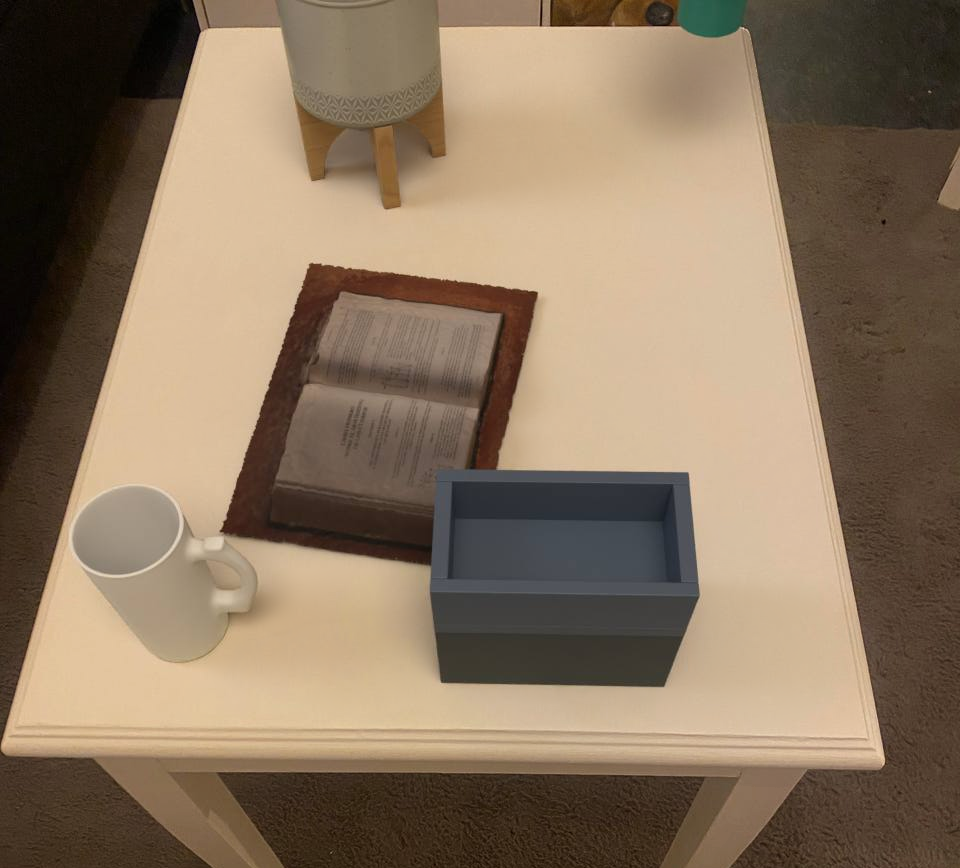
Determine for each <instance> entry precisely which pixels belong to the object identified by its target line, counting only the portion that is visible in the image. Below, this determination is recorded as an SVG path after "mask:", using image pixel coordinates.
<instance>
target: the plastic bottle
mask: <svg viewBox="0 0 960 868" xmlns="http://www.w3.org/2000/svg"><path fill="white" fill-rule="evenodd" d="M747 5H748V0H678V4H677V12H676V21H677V23H678V25H679V26H680V27H681V28H682V30H684V31H686V32H687V33H689V34H691V35H694V36H698V37H701V38H707V39H709V38H710V39H712V38H713V39H714V38H723V37H727V36H730V35H733V34H734V33H736V32H737V31H738V30H739V29H741V26H743V23H744V20H745V19H744V18H745V13H746V10H747Z"/></svg>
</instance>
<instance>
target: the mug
mask: <svg viewBox="0 0 960 868" xmlns="http://www.w3.org/2000/svg"><path fill="white" fill-rule="evenodd" d="M67 536H68V537H67V541H68V546H69V551H70V554H71V555H72V557H73V559H74V560H75V562H76V563H77V564H78V565H79V567H80V568H81V570H82V571H83V572H84V573H85V575H86V576H87V577H88V578H89V580H90V581H91V582H92V583H93V585H94V586H95V587H96V588H97V590H98V591H99V592H100V594H102V596H103V597H104V599H106V601H107V602H108V603H109V605H110V606H111V607H112V609H113V610H114V611H115V612H116V613H117V614H118V616H119V618H121V620H122V621H123V622H124V623H125V625H126V626H127V627H128V628H129V629H130V631H131V632H132V633H133V635H135V637H136V638H137V639H138V640H139V641H140V643H141V644H142V645H143V646H144V647H145V649H146V650H147V652H149V653H150V654H151V655H153V656H154V657H156V658H158V659H159V660H163V661H166V662H170V663H185V662H191V661H194V660H197V659H199V658H201V657H203V656H205V655H207V654H209V653H210V652H211V651H212V650H213V649H215V648H216V647H217V646H218V645H219V644H220V642H221V641H222V639H223V638H224V636H225V634H226V631H227V629H228V626H229V625H228V624H229V613H241V614H242V613H247V612H248V611H249V610H250V609H251V606H252V604H253V601H254V598H255V595H256V593H257V589H258V584H259V579H258V574H257V571H256V569H255V567H254V566H253V564H252V563H251V562H250V561H249V560H248V559H247V558H246V556H244V554H242V553H241V552H240V551H239V550H238V549H236V548H235V547H234V546H233V545H231V544H230V543H229V542H228V541H227V540H226V538H225V536H223V535H218V536H217V535H215V536H206V537H205V539H199V538H196V537H195V535H194V533H193V530H192V528H191V526H190V524H189V522H188V520H187V518H186V516H185V514H184V513H183V510H182V508H181V506H180V504H179V502H178V501H177V500H176V498H175V497H173V495H172V494H171V493H169V492H167V491H166V490H165V489H163V488H160V487H158V486H156V485H153V484H149V483H148V484H147V483H138V482H137V483H133V482H132V483H125V484H119V485H116V486H112V487H110V488H107V489H105V490H102V491H101V492H99V493H97V494H96V495H94V496H93V497H91V498H90V499H89V500H87V502H85V503H84V504H83V505H81V507H80V508H79V510H78V511H77V513H76V514H75V515H74V516H73V519H72V520H71V523H70V526H69V528H68V535H67ZM207 561H214V562H218V563H221V564H223V565H226V566H227V567H229V568H231V569H232V570H233V571H234V572H235V573H236V574H237V575H238V576H239V579H240V583H241V585H240V586H239V587H237V588H236V589H220V588H219V586H218V584H217V581H216V579H215V578H214V575H213V574H212V571H211V569H210V567H209V564H208V563H207Z"/></svg>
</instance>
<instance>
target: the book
mask: <svg viewBox="0 0 960 868" xmlns="http://www.w3.org/2000/svg"><path fill="white" fill-rule="evenodd" d="M304 276H305V277H304V280H302V285H301V290H300V291H299V293H298V295H297V297H296V303H295V304H294V308H293V309H294V311H293V314H292V316H290V319H289V322H288V327H287V328H286V332H285V334H284V338H283V340H282V341H283V343H282V344H281V349H280V351H279V354H278V355H277V360H276V362H275V367H274V369H273V371H272V373H271V376H270V377H271V378H270V380H269V382H268V384H267V386H268V388H267V391H265V394H264V399H263V401H262V405H261V407H260V410H259V413H258V415H259V416H258V418H257V419H256V423H255V424H256V425H254V426H255V428H254V430H253V431H252V435H251V436H250V440H249V443H248V445H247V449H246V451H245V453H244V458H243V462H242V466H241V470H240V472H239V473H238V476H237V478H236V481H235V487H234V489H233V494H231V495H232V496H231V499H230V501H231V502H230V503H229V505H228V510H227V512H226V514H225V515H226V517H225V518H226V519H224V520H222V527H221V528H220V529H219V530H218V531H219V533H223V534H224V535H230V536H232V535H236V536H237V537H239V536H243V537H244V538H245V537H248V536H249V537H252V538H254V539H266V540H267V541H271V540H272V541H273V542H279V543H282V542H283V541H284V543H285V544H286V543H288V542H289V543H292V544H297V545H299V546H305V547H309V546H311V547H314V548H319V549H322V548H323V550H330V551H334V552H335V551H337V552H344V553H348V554H349V553H353V554H357V555H366V556H371V557H376V558H380V559H390V560H393V561H396V560H398V561H404V562H410V563H413V564H415V563H417V564H420V565H422V564H426V565H430V566H431V559H432V542H433V525H434V508H435V491H436V473H437V469H471V470H497V467H498V464H499V457H500V453H499V452H500V451H499V450H500V448H502V445H503V443H502V442H503V439H504V437H505V435H506V429H507V425H508V424H509V423H508V422H509V421H510V413H509V411H510V410H511V409H512V407H513V397H514V394H515V393H516V389H517V385H518V379H519V376H520V372H521V369H522V365H523V359H524V355H523V353H525V351H526V348H527V342H528V338H529V334H530V331H531V330H530V329H531V327H532V320H533V319H534V309H535V306H536V301H537V300H538V299H537V298H538V295H539V292H538V291H535V290H528V289H519V288H508V287H504V286H501V285H497V286H495V285H491V284H486V283H485V284H482V283H477V282H471V281H469V282H468V281H461V280H460V281H459V280H456V279H454V280H450V279H448V278H447V279H445V278H443V279H441V278H435V277H429V278H428V277H425V276H418V275H411V274H403V273H396V272H393V271H392V272H390V271H377V270H375V271H374V270H369V269H365V268H352V267H347V268H345V267H344V266H340V265H337V266H335V265H333V264H332V265H331V264H324V265H322V263H314V262H311V263H309V264H308V267H307V268H306V273H305V275H304Z"/></svg>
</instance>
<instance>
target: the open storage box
mask: <svg viewBox="0 0 960 868" xmlns="http://www.w3.org/2000/svg"><path fill="white" fill-rule="evenodd" d="M690 484H691V483H690V473H689V471H626V470H625V471H623V470H620V471H619V470H618V471H617V470H615V471H614V470H543V469H541V470H540V469H539V470H538V469H496V470H471V469H437V473H436V491H435V508H434V525H433V542H432V559H431V565H430V580H429V598H430V606H431V613H432V614H431V615H432V622H433V630H434V637H435V638H434V639H435V645H436V651H437V652H436V653H437V662H438V669H439V678H440V683H442V684H483V685H484V684H485V685H487V684H489V685H535V686H536V685H537V686H538V685H539V686H540V685H542V686H589V687H591V686H592V687H595V686H597V687H599V686H600V687H646V688H647V687H648V688H649V687H650V688H664V687H665V686H666V683H667V681H668V678H669V675H670V673H671V670H672V668H673V665H674V662H675V660H676V658H677V655H678V653H679V650H680V647H681V644H682V642H683V640H684V637H685V635H686V632H687V630H688V627H689V624H690V622H691V619H692V617H693V614H694V611H695V609H696V607H697V604H698V601H699V599H700V597H701V593H700V583H699V572H698V561H697V551H696V538H695V528H694V515H693V506H692V495H691V485H690Z"/></svg>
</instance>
